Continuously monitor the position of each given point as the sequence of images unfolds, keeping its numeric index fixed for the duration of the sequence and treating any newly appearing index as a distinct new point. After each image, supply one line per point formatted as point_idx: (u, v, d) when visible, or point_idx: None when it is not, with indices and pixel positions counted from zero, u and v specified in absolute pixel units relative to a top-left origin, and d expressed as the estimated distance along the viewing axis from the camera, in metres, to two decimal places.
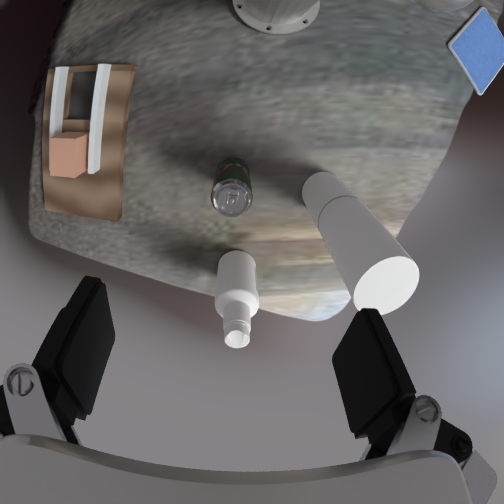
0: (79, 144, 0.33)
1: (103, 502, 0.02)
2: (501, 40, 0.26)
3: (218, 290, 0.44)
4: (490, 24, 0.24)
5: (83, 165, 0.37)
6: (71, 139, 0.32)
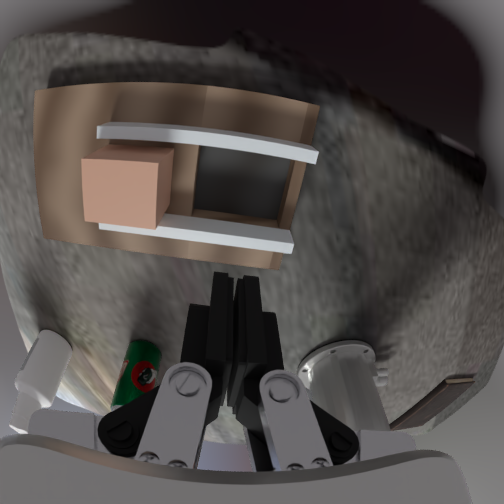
0: None
1: (103, 502, 0.02)
2: None
3: (34, 378, 0.28)
4: None
5: None
6: (154, 219, 0.20)
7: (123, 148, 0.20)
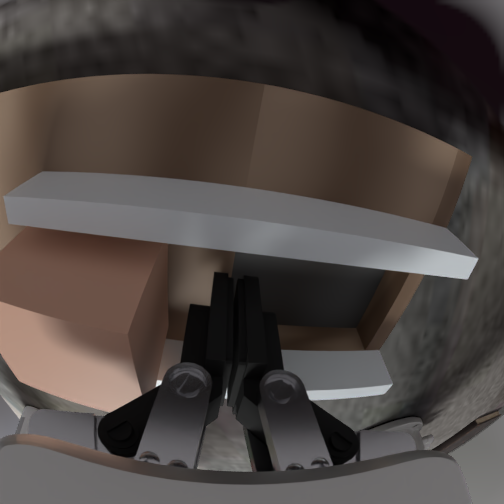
0: None
1: (103, 502, 0.02)
2: None
3: None
4: None
5: None
6: None
7: (57, 236, 0.08)
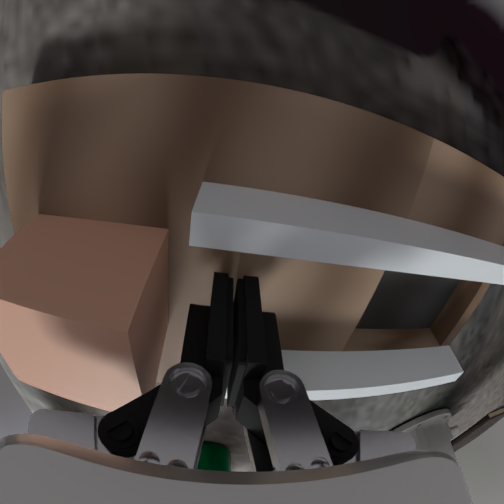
0: None
1: (103, 502, 0.02)
2: None
3: None
4: None
5: None
6: None
7: (57, 234, 0.08)
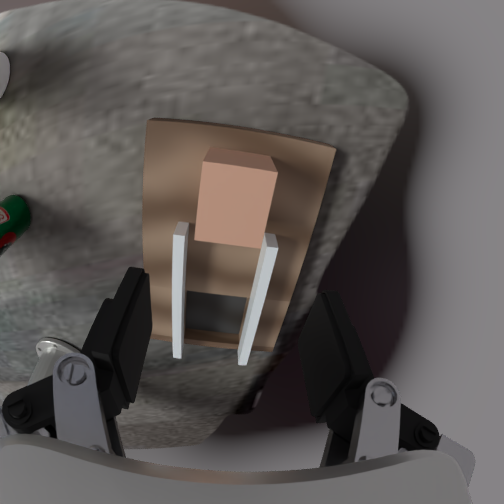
0: None
1: (103, 502, 0.02)
2: None
3: None
4: None
5: None
6: (205, 239, 0.21)
7: None
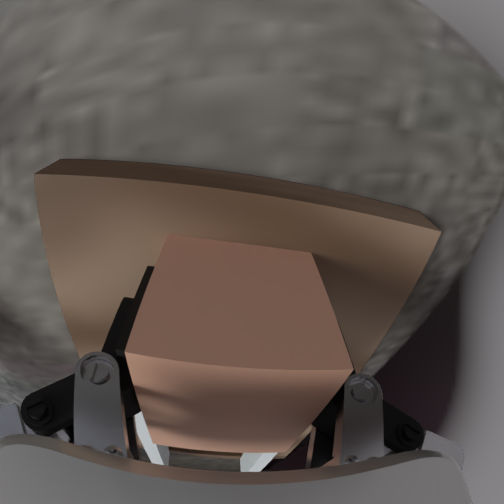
0: None
1: (103, 502, 0.02)
2: None
3: None
4: None
5: None
6: (174, 445, 0.08)
7: None
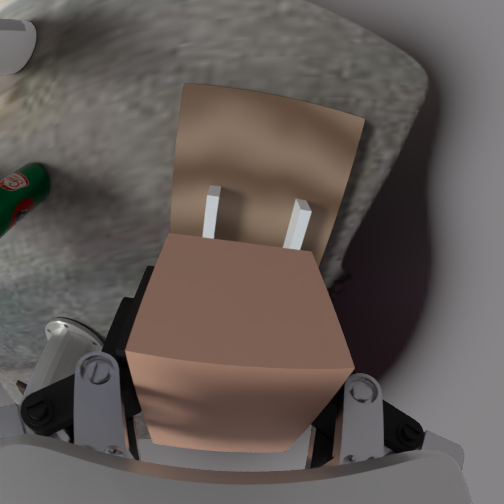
0: None
1: (103, 502, 0.02)
2: None
3: None
4: None
5: None
6: (174, 444, 0.08)
7: None
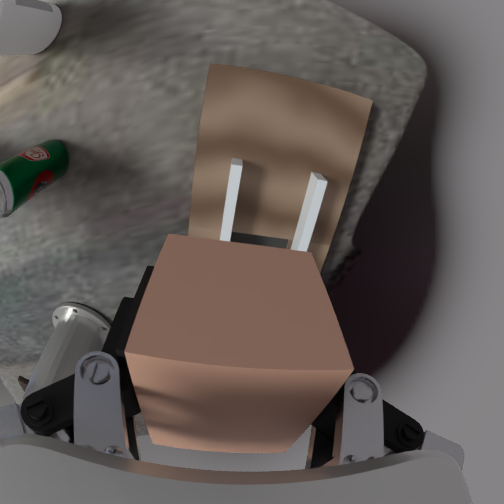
0: None
1: (103, 502, 0.02)
2: None
3: (6, 27, 0.10)
4: None
5: None
6: (174, 445, 0.08)
7: None
